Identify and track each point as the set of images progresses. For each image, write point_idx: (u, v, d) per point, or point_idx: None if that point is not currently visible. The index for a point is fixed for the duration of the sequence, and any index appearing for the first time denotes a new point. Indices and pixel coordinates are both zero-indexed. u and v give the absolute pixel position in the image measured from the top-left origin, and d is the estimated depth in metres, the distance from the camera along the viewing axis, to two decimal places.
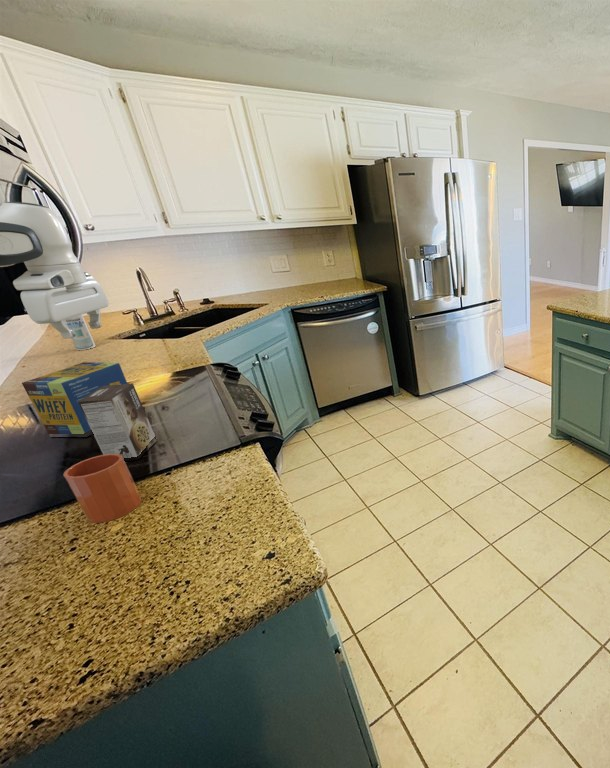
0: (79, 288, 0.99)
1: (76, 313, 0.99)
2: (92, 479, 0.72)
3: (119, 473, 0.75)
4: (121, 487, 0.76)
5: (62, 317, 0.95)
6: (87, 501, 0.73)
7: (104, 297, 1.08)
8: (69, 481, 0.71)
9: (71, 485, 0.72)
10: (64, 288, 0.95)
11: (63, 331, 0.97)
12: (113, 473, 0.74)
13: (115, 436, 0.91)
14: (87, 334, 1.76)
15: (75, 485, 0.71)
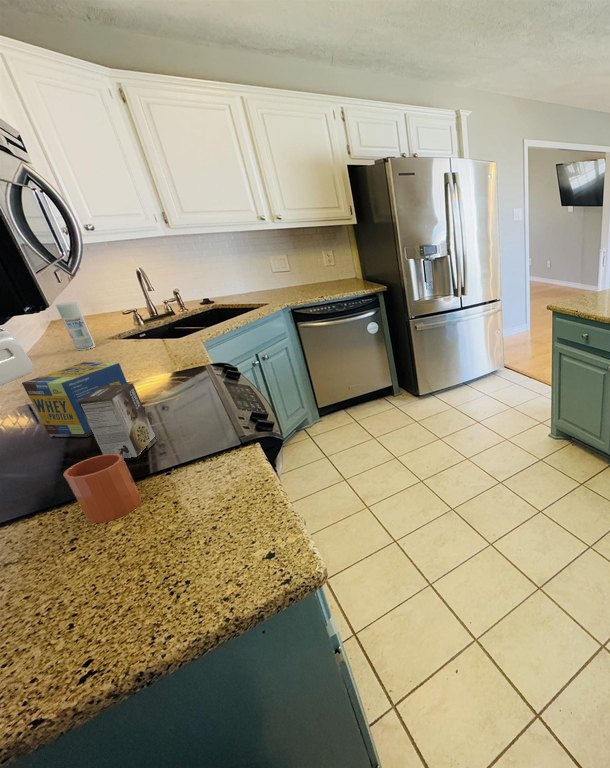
0: None
1: None
2: (92, 479, 0.72)
3: (119, 473, 0.75)
4: (121, 487, 0.76)
5: None
6: (87, 501, 0.73)
7: (25, 361, 0.74)
8: (69, 481, 0.71)
9: (71, 485, 0.72)
10: None
11: None
12: (113, 473, 0.74)
13: (115, 436, 0.91)
14: (87, 334, 1.76)
15: (75, 485, 0.71)
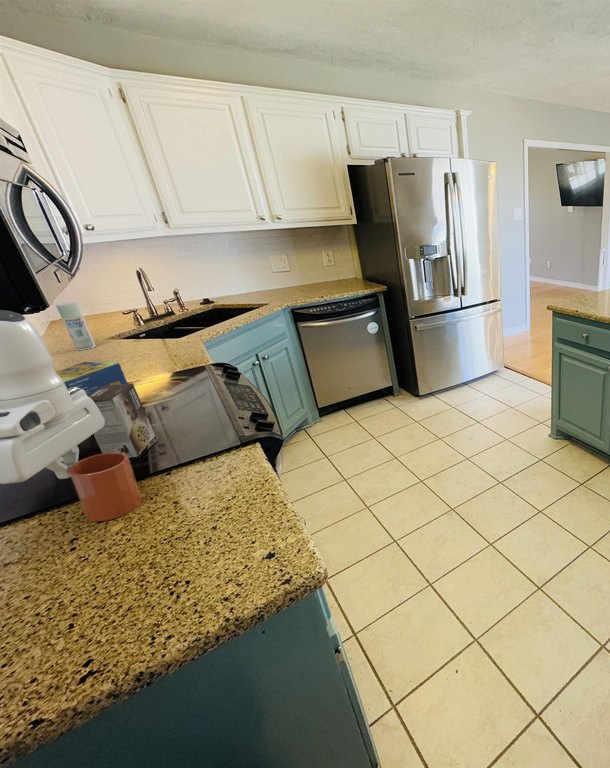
0: (63, 419, 0.70)
1: (59, 454, 0.70)
2: (97, 477, 0.72)
3: (124, 472, 0.75)
4: (124, 487, 0.76)
5: (38, 468, 0.66)
6: (89, 499, 0.73)
7: (99, 416, 0.80)
8: (74, 478, 0.71)
9: (75, 482, 0.72)
10: (41, 426, 0.67)
11: (58, 470, 0.72)
12: (118, 473, 0.74)
13: (115, 436, 0.91)
14: (87, 334, 1.76)
15: (80, 483, 0.71)
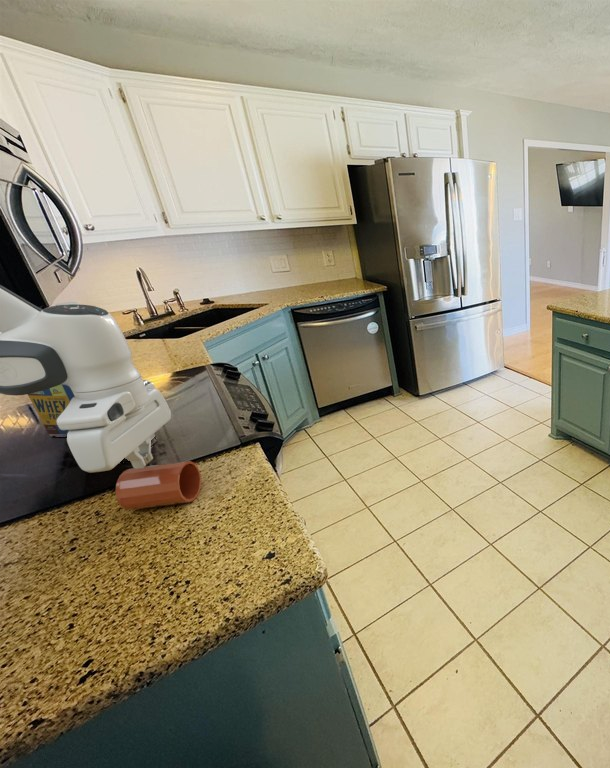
0: (140, 410, 0.73)
1: (137, 444, 0.73)
2: (178, 500, 0.77)
3: None
4: None
5: (121, 457, 0.69)
6: (147, 495, 0.75)
7: (166, 409, 0.82)
8: (172, 484, 0.76)
9: (167, 484, 0.76)
10: (123, 417, 0.69)
11: (135, 460, 0.74)
12: None
13: None
14: None
15: (169, 490, 0.76)
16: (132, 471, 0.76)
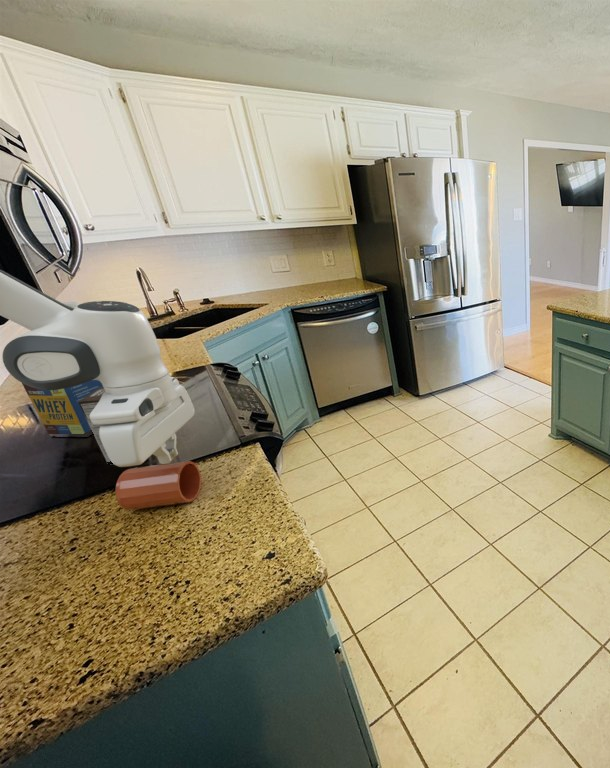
0: (168, 406, 0.74)
1: (164, 440, 0.74)
2: (178, 500, 0.77)
3: None
4: None
5: (150, 452, 0.70)
6: (147, 495, 0.75)
7: (190, 405, 0.83)
8: (172, 484, 0.76)
9: (167, 485, 0.76)
10: (153, 413, 0.70)
11: (161, 455, 0.75)
12: None
13: None
14: None
15: (169, 490, 0.76)
16: (132, 471, 0.76)
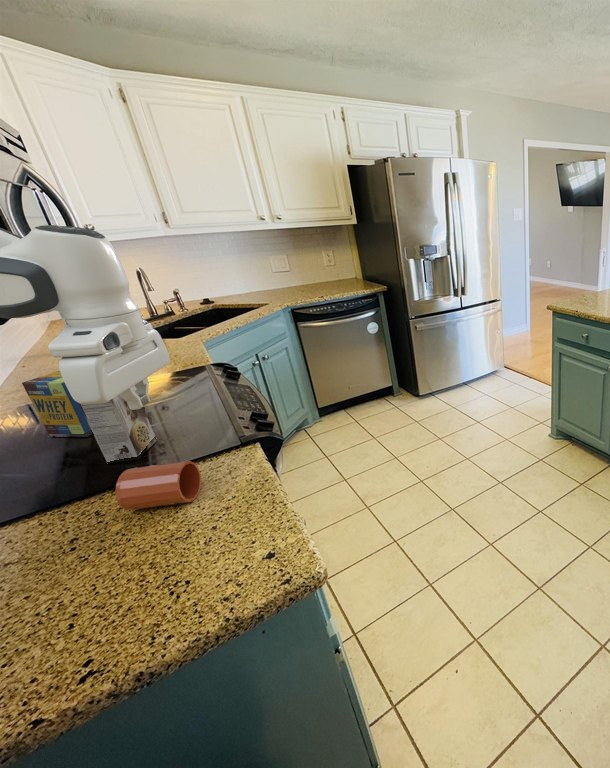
0: (138, 346, 0.69)
1: (133, 382, 0.69)
2: (178, 500, 0.77)
3: None
4: None
5: (116, 392, 0.65)
6: (147, 495, 0.75)
7: (165, 352, 0.78)
8: (172, 484, 0.76)
9: (167, 485, 0.76)
10: (120, 350, 0.65)
11: (131, 400, 0.70)
12: None
13: (115, 436, 0.91)
14: None
15: (169, 490, 0.76)
16: (132, 471, 0.76)
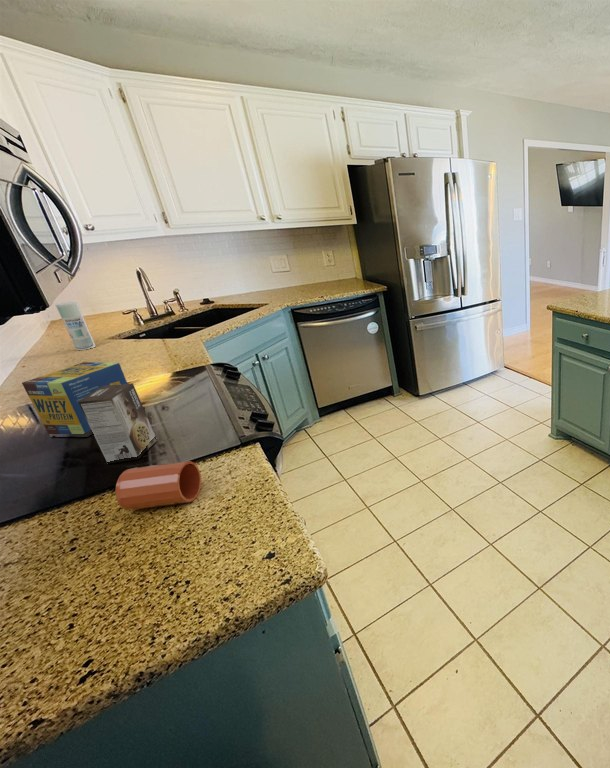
0: None
1: None
2: (178, 500, 0.77)
3: None
4: None
5: None
6: (147, 495, 0.75)
7: None
8: (172, 484, 0.76)
9: (167, 485, 0.76)
10: None
11: None
12: None
13: (115, 436, 0.91)
14: (87, 334, 1.76)
15: (169, 490, 0.76)
16: (132, 471, 0.76)
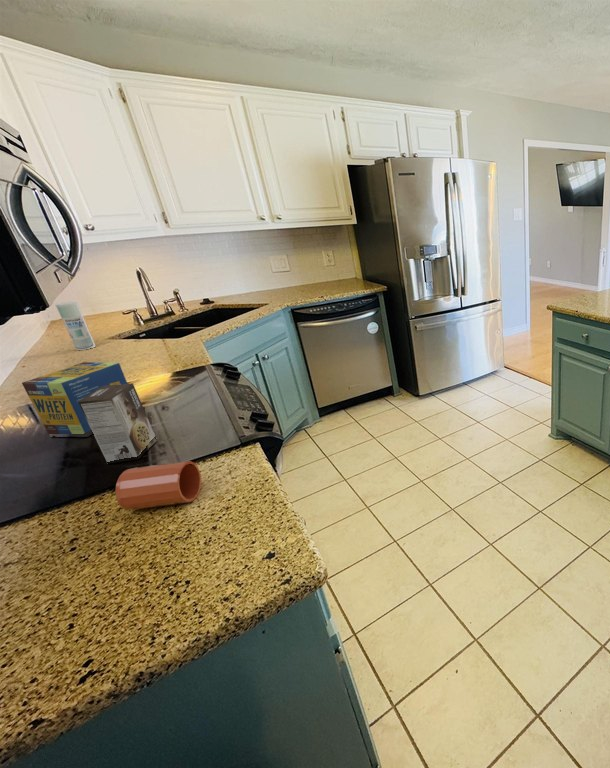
0: None
1: None
2: (178, 500, 0.77)
3: None
4: None
5: None
6: (147, 495, 0.75)
7: None
8: (172, 484, 0.76)
9: (167, 485, 0.76)
10: None
11: None
12: None
13: (115, 436, 0.91)
14: (87, 334, 1.76)
15: (169, 490, 0.76)
16: (132, 471, 0.76)
